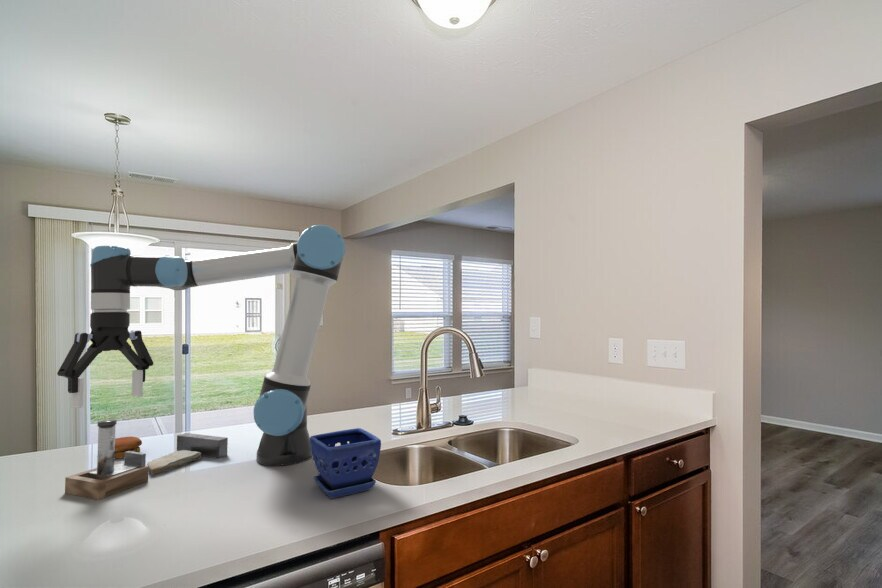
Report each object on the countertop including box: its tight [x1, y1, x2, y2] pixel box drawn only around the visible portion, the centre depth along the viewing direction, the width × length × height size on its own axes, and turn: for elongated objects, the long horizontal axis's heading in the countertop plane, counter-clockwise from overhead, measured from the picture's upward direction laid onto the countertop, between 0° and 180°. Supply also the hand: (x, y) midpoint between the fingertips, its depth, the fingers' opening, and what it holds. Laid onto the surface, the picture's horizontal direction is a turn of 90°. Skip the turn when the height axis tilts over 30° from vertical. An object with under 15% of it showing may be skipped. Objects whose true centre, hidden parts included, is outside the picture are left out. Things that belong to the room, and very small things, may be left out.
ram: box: [88, 419, 147, 480], centre depth 107 cm, size 7×9×14 cm
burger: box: [114, 436, 143, 460], centre depth 129 cm, size 10×9×5 cm
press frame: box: [64, 461, 150, 501], centre depth 105 cm, size 11×12×4 cm
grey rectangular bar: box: [176, 432, 229, 459], centre depth 129 cm, size 16×3×5 cm, turn 71°
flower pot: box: [310, 427, 382, 499], centre depth 104 cm, size 13×13×12 cm
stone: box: [146, 450, 202, 476], centre depth 120 cm, size 15×11×3 cm
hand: (109, 401), depth 105 cm, fingers open, 13 cm apart
